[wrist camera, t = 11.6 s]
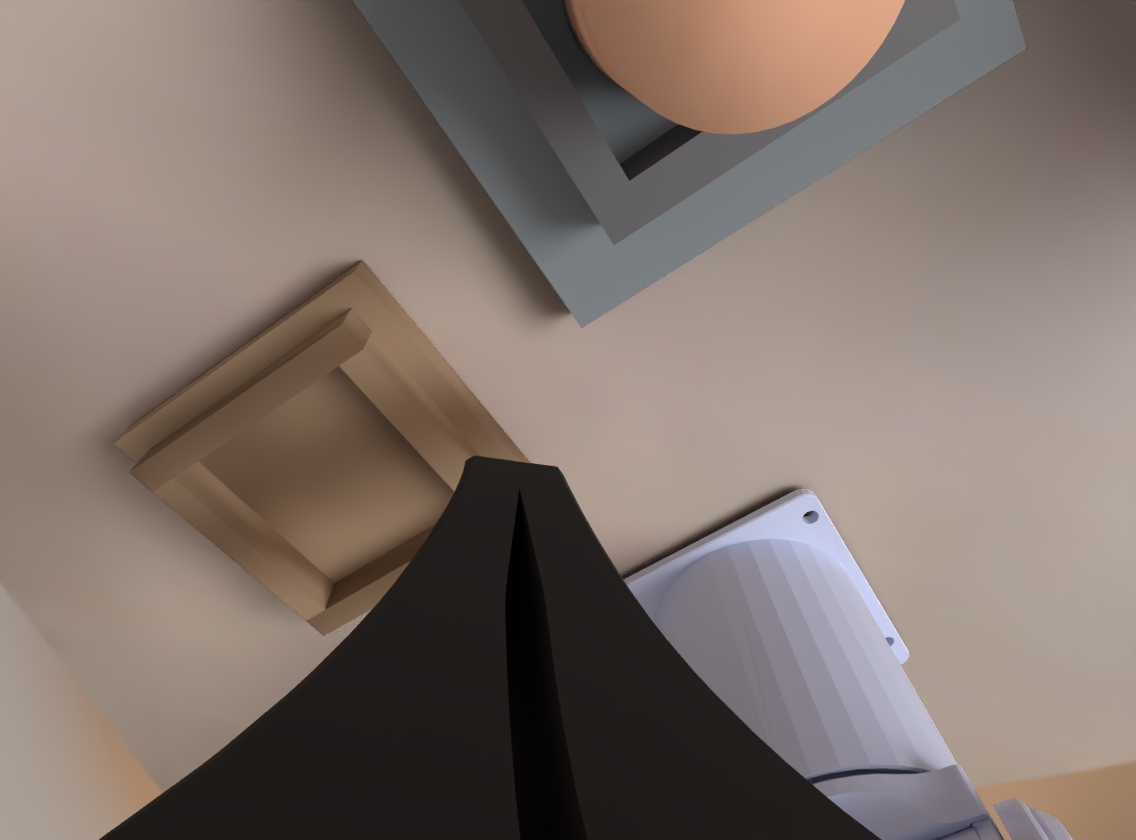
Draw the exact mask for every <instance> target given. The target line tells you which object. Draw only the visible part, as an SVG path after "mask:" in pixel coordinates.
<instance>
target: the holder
mask: <svg viewBox="0 0 1136 840" xmlns="http://www.w3.org/2000/svg"><path fill="white" fill-rule="evenodd" d="M114 445H115V446H116V447H117V448H118V449H120V450H121V451H122V452H123V453H124V454H125V455H127V456H128V457H129V458H130V459H131V460H132V461H134V462H135V463H136V465H135V467H134V468H133V469H132V470H131V471H130V472H129V473H131V474H132V475H133V476H134V477H135V478H137V479H138V480H139V481H140V482H141V483H142V484H144V485H145V486H146V487H147V488H148V489H150V490H151V491H152V492H153V493H154V494H156V495H157V496H158V497H159V498H160V499H162V500H163V501H164V502H165V503H166V504H167V505H169V506H170V507H171V508H172V509H173V510H175V511H176V512H177V513H178V514H179V515H181V516H182V517H183V518H184V519H185V520H187V521H188V522H189V523H190V524H191V525H192V526H194V527H195V528H196V529H197V530H198V531H200V532H201V533H202V534H203V535H204V536H206V537H207V538H208V539H209V540H210V541H211V542H213V543H214V544H215V545H216V546H217V547H219V548H220V549H221V550H222V551H223V552H225V553H226V554H227V555H228V556H229V557H231V558H232V559H233V560H234V561H235V562H236V563H238V564H239V565H240V566H241V567H242V568H244V569H245V570H246V571H247V572H248V573H250V574H251V575H252V576H253V577H254V578H256V579H257V580H258V581H259V582H260V583H261V584H263V585H264V586H265V587H266V588H267V589H269V590H270V591H271V592H272V593H273V594H275V595H276V596H277V597H278V598H279V599H281V600H282V601H283V602H284V603H285V604H286V605H288V606H289V607H290V608H291V609H292V610H294V611H295V612H296V613H297V614H298V615H300V616H301V617H302V618H303V619H304V620H305V621H307V622H308V623H309V624H310V625H311V626H313V627H314V628H315V629H316V630H317V631H319V632H320V633H321V634H322V635H323V636H324V635H326V634H328V633H330V632H332V631H333V630H335V629H337V628H339V627H340V626H342V625H344V624H346V623H347V622H349V621H351V620H353V619H355V618H356V617H358V616H360V615H362V614H363V613H365V612H367V611H369V610H371V609H372V608H374V607H375V606H376V604H377V603H378V602H379V601H380V600H381V599H382V597H383V596H384V595H385V594H386V593H387V591H388V590H389V589H390V588H391V586H392V585H393V584H394V583H395V581H396V580H397V579H398V577H399V576H400V575H401V573H402V572H403V571H404V569H405V568H406V567H407V565H408V564H409V563H410V561H411V560H412V559H413V557H414V556H415V555H416V553H417V552H418V551H419V549H420V548H421V547H422V545H423V544H424V542H425V541H426V539H427V538H428V536H429V534H430V533H431V531H432V530H433V528H434V526H435V525H436V523H437V522H438V520H439V518H440V517H441V515H442V514H443V512H444V510H445V509H446V507H447V505H448V503H449V501H450V499H451V497H452V496H453V494H454V492H455V490H456V487H457V485H458V483H459V481H460V478H461V475H462V473H463V470H464V465H465V461H466V460H467V459H469V458H471V457H472V456H474V455H476V456H483V457H490V458H497V459H504V460H512V461H519V462H526V463H530V462H529V461H528V459H527V458H526V457H525V456H524V455H523V453H522V452H521V451H520V450H519V449H518V447H517V446H516V445H515V444H514V443H513V441H512V440H511V439H510V438H509V437H508V435H507V434H506V433H505V432H504V430H503V429H502V428H501V427H500V426H499V424H498V423H497V422H496V421H495V420H494V418H493V417H492V416H491V415H490V414H489V412H488V411H487V410H486V409H485V408H484V406H483V405H482V404H481V403H480V402H479V400H478V399H477V398H476V397H475V395H474V394H473V393H472V392H471V391H470V389H469V388H468V387H467V386H466V385H465V383H464V382H463V381H462V380H461V379H460V377H459V376H458V375H457V374H456V373H455V371H454V370H453V369H452V368H451V366H450V365H449V364H448V363H447V362H446V360H445V359H444V358H443V357H442V356H441V354H440V353H439V352H438V351H437V350H436V348H435V347H434V346H433V345H432V344H431V342H430V341H429V340H428V339H427V337H426V336H425V335H424V334H423V333H422V331H421V330H420V329H419V328H418V327H417V325H416V324H415V323H414V322H413V321H412V319H411V318H410V317H409V316H408V315H407V313H406V312H405V311H404V310H403V309H402V307H401V306H400V305H399V304H398V302H397V301H396V300H395V299H394V298H393V296H392V295H391V294H390V293H389V292H388V290H387V289H386V288H385V287H384V286H383V284H382V283H381V282H380V281H379V280H378V278H377V277H376V276H375V275H374V273H373V272H372V271H371V270H370V269H369V267H368V266H367V265H366V264H365V263H364V261H363V260H362V261H360V262H359V263H357V264H356V265H355V266H353V267H352V268H351V269H349V270H348V271H346V272H345V273H344V274H342V275H341V276H339V277H338V278H337V279H335V280H334V281H332V282H331V283H330V284H328V285H327V286H325V287H324V288H323V289H321V290H320V291H318V292H317V293H316V294H314V295H313V296H312V297H310V298H309V299H307V300H306V301H305V302H303V303H302V304H300V305H299V306H298V307H296V308H295V309H293V310H292V311H291V312H289V313H288V314H286V315H285V316H284V317H282V318H281V319H279V320H278V321H277V322H275V323H274V324H273V325H271V326H270V327H268V328H267V329H266V330H264V331H263V332H261V333H260V334H259V335H257V336H256V337H254V338H253V339H252V340H250V341H249V342H247V343H246V344H245V345H243V346H242V347H240V348H239V349H238V350H236V351H235V352H234V353H232V354H231V355H229V356H228V357H227V358H225V359H224V360H222V361H221V362H220V363H218V364H217V365H215V366H214V367H213V368H211V369H210V370H208V371H207V372H206V373H204V374H203V375H201V376H200V377H199V378H197V379H196V380H195V381H193V382H192V383H190V384H189V385H188V386H186V387H185V388H183V389H182V390H181V391H179V392H178V393H176V394H175V395H174V396H172V397H171V398H169V399H168V400H167V401H165V402H164V403H162V404H161V405H160V406H158V407H157V408H155V409H154V410H153V411H151V412H150V413H149V414H147V415H146V416H144V417H143V418H142V419H140V420H139V421H137V422H136V423H135V424H133V425H132V426H130V427H129V428H128V429H127V430H126V431H125V432H124V434H123V435H122V436H121V437H120V438H119V439H118V440H117V441H116V442H115V443H114Z"/></svg>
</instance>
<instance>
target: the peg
mask: <svg viewBox="0 0 1136 840" xmlns="http://www.w3.org/2000/svg"><path fill="white" fill-rule="evenodd" d="M904 2H905V0H562V5H563V10H564V14H565V17H566V20H567V23H568V26H569V28H570V30H571V33H572V35H573V37H574V39H575V41H576V42H577V44H578V46H579V47H580V49H581V50H582V52H583V53H584V54H585V55H586V57H587V58H588V59H589V60H590V62H591V63H593V64H594V65H595V66H596V67H597V68H598V69H599V70H600V71H601V72H603V73H604V74H605V75H607V76H608V77H609V78H611V79H612V80H613V81H615V82H616V83H617V84H619V85H620V86H621V87H623V88H624V89H625V90H627V91H628V92H629V93H631V94H632V95H633V96H635V97H636V98H637V99H639V100H640V101H641V102H643V103H644V104H645V105H647V106H648V107H649V108H651V109H652V110H654V111H655V112H656V113H658V114H659V115H661V116H663V117H665V118H667V119H669V120H671V121H673V122H675V123H677V124H680V125H683V126H686V127H688V128H691V129H694V130H699V131H704V132H709V133H715V134H744V133H754V132H759V131H763V130H767V129H771V128H775V127H778V126H781V125H783V124H786V123H788V122H791V121H794V120H796V119H798V118H800V117H802V116H804V115H805V114H807V113H809V112H811V111H813V110H815V109H816V108H818V107H819V106H821V105H822V104H823V103H825V102H826V101H828V100H829V99H831V98H832V97H833V96H835V95H836V94H837V93H838V92H839V91H840V90H841V89H843V88H844V87H845V86H846V85H847V84H848V83H850V82H851V81H852V79H853V78H854V77H855V76H856V75H857V74H858V73H859V72H860V71H861V70H862V69H863V68H864V67H865V65H866V64H867V63H868V62H869V60H870V59H871V58H872V56H873V55H874V54H875V52H876V51H877V50H878V48H879V47H880V46H881V44H882V43H883V41H884V40H885V38H886V36H887V35H888V33H889V31H890V30H891V28H892V26H893V25H894V23H895V21H896V19H897V17H898V15H899V12H900V10H901V8H902V6H903V4H904Z"/></svg>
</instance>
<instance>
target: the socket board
mask: <svg viewBox="0 0 1136 840" xmlns="http://www.w3.org/2000/svg"><path fill="white" fill-rule="evenodd" d="M352 1H353V2H354V3H355V5H356V6H357V8H358V9H359V11H360V12H361V13H362V15H363V16H364V18H365V19H366V21H367V22H368V23H369V25H370V26H371V28H372V29H373V31H374V32H375V33H376V35H377V36H378V38H379V39H380V41H381V42H382V43H383V45H384V46H385V48H386V49H387V51H388V52H389V53H390V55H391V56H392V58H393V59H394V61H395V62H396V63H397V65H398V66H399V68H400V69H401V71H402V72H403V73H404V75H405V76H406V78H407V79H408V81H409V82H410V83H411V85H412V86H413V88H414V89H415V91H416V92H417V93H418V95H419V96H420V98H421V99H422V101H423V102H424V103H425V105H426V106H427V108H428V109H429V111H430V112H431V113H432V115H433V116H434V118H435V119H436V121H437V122H438V123H439V125H440V126H441V128H442V129H443V131H444V132H445V133H446V135H447V136H448V138H449V139H450V141H451V142H452V143H453V145H454V146H455V148H456V149H457V151H458V152H459V153H460V155H461V156H462V158H463V159H464V161H465V162H466V163H467V165H468V166H469V168H470V169H471V171H472V172H473V173H474V175H475V176H476V178H477V179H478V181H479V182H480V183H481V185H482V186H483V188H484V189H485V191H486V192H487V193H488V195H489V196H490V198H491V199H492V201H493V202H494V203H495V205H496V206H497V208H498V209H499V211H500V212H501V213H502V215H503V216H504V218H505V219H506V221H507V222H508V223H509V225H510V226H511V228H512V229H513V231H514V232H515V233H516V235H517V236H518V238H519V239H520V241H521V242H522V243H523V245H524V246H525V248H526V249H527V251H528V252H529V253H530V255H531V256H532V258H533V259H534V261H535V262H536V263H537V265H538V266H539V268H540V269H541V271H542V272H543V273H544V275H545V276H546V278H547V279H548V281H549V282H550V283H551V285H552V286H553V288H554V289H555V291H556V292H557V293H558V295H559V296H560V298H561V299H562V301H563V302H564V303H565V305H566V306H567V308H568V309H569V311H570V312H571V313H572V315H573V316H574V318H575V319H576V321H577V322H578V323H579V325H580V326H581V328H583V327H584V326H586V325H587V324H589V323H591V322H592V321H594V320H595V319H597V318H599V317H600V316H602V315H603V314H605V313H606V312H608V311H610V310H611V309H613V308H614V307H616V306H618V305H619V304H621V303H622V302H624V301H626V300H627V299H629V298H630V297H632V296H634V295H635V294H637V293H638V292H640V291H641V290H643V289H645V288H646V287H648V286H649V285H651V284H653V283H654V282H656V281H657V280H659V279H661V278H662V277H664V276H665V275H667V274H669V273H670V272H672V271H673V270H675V269H677V268H678V267H680V266H681V265H683V264H684V263H686V262H688V261H689V260H691V259H692V258H694V257H696V256H697V255H699V254H700V253H702V252H704V251H705V250H707V249H708V248H710V247H712V246H713V245H715V244H716V243H718V242H719V241H721V240H723V239H724V238H726V237H727V236H729V235H731V234H732V233H734V232H735V231H737V230H739V229H740V228H742V227H743V226H745V225H747V224H748V223H750V222H751V221H753V220H755V219H756V218H758V217H759V216H761V215H762V214H764V213H766V212H767V211H769V210H770V209H772V208H774V207H775V206H777V205H778V204H780V203H782V202H783V201H785V200H786V199H788V198H790V197H791V196H793V195H794V194H796V193H797V192H799V191H801V190H802V189H804V188H805V187H807V186H809V185H810V184H812V183H813V182H815V181H817V180H818V179H820V178H821V177H823V176H825V175H826V174H828V173H829V172H831V171H833V170H834V169H836V168H837V167H839V166H840V165H842V164H844V163H845V162H847V161H848V160H850V159H852V158H853V157H855V156H856V155H858V154H860V153H861V152H863V151H864V150H866V149H868V148H869V147H871V146H872V145H874V144H875V143H877V142H879V141H880V140H882V139H883V138H885V137H887V136H888V135H890V134H891V133H893V132H895V131H896V130H898V129H899V128H901V127H903V126H904V125H906V124H907V123H909V122H911V121H912V120H914V119H915V118H917V117H918V116H920V115H922V114H923V113H925V112H926V111H928V110H930V109H931V108H933V107H934V106H936V105H938V104H939V103H941V102H942V101H944V100H946V99H947V98H949V97H950V96H952V95H953V94H955V93H957V92H958V91H960V90H961V89H963V88H965V87H966V86H968V85H969V84H971V83H973V82H974V81H976V80H977V79H979V78H981V77H982V76H984V75H985V74H987V73H988V72H990V71H992V70H993V69H995V68H996V67H998V66H1000V65H1001V64H1003V63H1004V62H1006V61H1008V60H1009V59H1011V58H1012V57H1014V56H1016V55H1017V54H1019V53H1020V52H1022V51H1024V50H1025V49H1027V48H1026V45H1025V41H1024V38H1023V34H1022V31H1021V27H1020V24H1019V20H1018V17H1017V13H1016V10H1015V6H1014V3H1013V0H905V2H904V4H903V6H902V8H901V10H900V12H899V15H898V17H897V19H896V21H895V23H894V25H893V26H892V28H891V30H890V31H889V33H888V35H887V36H886V38H885V40H884V41H883V43H882V44H881V46H880V47H879V48H878V50H877V51H876V52H875V54H874V55H873V56H872V58H871V59H870V60H869V62H868V63H867V64H866V65H865V67H864V68H863V69H862V70H861V71H860V72H859V73H858V74H857V75H856V76H855V77H854V78H853V79H852V81H851V82H850V83H848V84H847V85H846V86H845V87H844V88H843V89H841V90H840V91H839V92H838V93H837V94H836V95H835V96H833V97H832V98H831V99H829V100H828V101H826V102H825V103H823V104H822V105H821V106H819V107H818V108H816V109H815V110H813V111H811V112H809V113H807V114H805V115H804V116H802V117H800V118H798V119H796V120H794V121H791V122H788V123H786V124H783V125H781V126H778V127H775V128H771V129H767V130H763V131H759V132H754V133H744V134H715V133H709V132H704V131H699V130H694V129H691V128H688V127H686V126H683V125H680V124H677V123H675V122H673V121H671V120H669V119H667V118H665V117H663V116H661V115H659V114H658V113H656V112H655V111H654V110H652V109H651V108H649V107H648V106H647V105H645V104H644V103H643V102H641V101H640V100H639V99H637V98H636V97H635V96H633V95H632V94H631V93H629V92H628V91H627V90H625V89H624V88H623V87H621V86H620V85H619V84H617V83H616V82H615V81H613V80H612V79H611V78H609V77H608V76H607V75H605V74H604V73H603V72H601V71H600V70H599V69H598V68H597V67H596V66H595V65H594V64H593V63H591V62H590V60H589V59H588V58H587V57H586V55H585V54H584V53H583V52H582V50H581V49H580V47H579V46H578V44H577V42H576V41H575V39H574V37H573V35H572V33H571V30H570V28H569V26H568V23H567V20H566V17H565V14H564V10H563V5H562V0H352Z"/></svg>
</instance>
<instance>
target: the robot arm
mask: <svg viewBox="0 0 1136 840" xmlns="http://www.w3.org/2000/svg"><path fill="white" fill-rule="evenodd" d="M809 511H814V512H813V513H812V514H811V515H810V516H806V517H805V516H804V514H805V513H807V512H809ZM908 657H909V651H908V649H907V648H906V646H905V644H904V643H903V641H902V639H901V638H900V636H899V634H898V633H897V631H896V629H895V627H894V626H893V624H892V622H891V621H890V619H889V617H888V616H887V614H886V612H885V611H884V609H883V607H882V606H881V604H880V602H879V601H878V599H877V597H876V595H875V594H874V592H873V590H872V589H871V587H870V585H869V584H868V582H867V580H866V579H865V577H864V575H863V574H862V572H861V570H860V569H859V567H858V565H857V564H856V562H855V560H854V558H853V557H852V555H851V553H850V552H849V550H848V548H847V547H846V545H845V543H844V542H843V540H842V538H841V537H840V535H839V533H838V532H837V530H836V528H835V526H834V525H833V523H832V521H831V520H830V518H829V516H828V515H827V513H826V511H825V510H824V508H823V506H822V505H821V503H820V501H819V500H818V498H817V496H816V495H815V493H814V492H813V491H812V490H809V489H807V488H805V489H798V490H795V491H793V492H791V493H789V494H787V495H785V496H783V497H781V498H779V499H778V500H776V501H774V502H772V503H770V504H768V505H766V506H764V507H762V508H760V509H758V510H756V511H754V512H752V513H751V514H749V515H747V516H745V517H743V518H741V519H739V520H737V521H735V522H733V523H731V524H729V525H727V526H726V527H724V528H722V529H720V530H718V531H716V532H714V533H712V534H710V535H708V536H706V537H704V538H702V539H701V540H699V541H697V542H695V543H693V544H691V545H689V546H687V547H685V548H683V549H681V550H679V551H677V552H676V553H674V554H672V555H670V556H668V557H666V558H664V559H662V560H660V561H658V562H656V563H654V564H652V565H651V566H649V567H647V568H645V569H643V570H641V571H639V572H637V573H635V574H633V575H631V576H629V577H627V578H625V579H624V580H623V578H622V577H621V575H620V574H619V572H618V571H617V569H616V568H615V566H614V565H613V563H612V561H611V560H610V558H609V557H608V555H607V553H606V552H605V550H604V549H603V547H602V545H601V544H600V542H599V540H598V539H597V537H596V535H595V534H594V532H593V530H592V528H591V527H590V525H589V523H588V521H587V520H586V518H585V516H584V514H583V512H582V511H581V509H580V507H579V505H578V503H577V501H576V499H575V497H574V495H573V493H572V491H571V489H570V487H569V485H568V483H567V481H566V479H565V477H564V475H563V474H562V472H561V471H560V470H559V468H558V467H555V466H548V465H540V464H533V463H526V462H519V461H512V460H504V459H497V458H490V457H483V456H476V455H474V456H472V457H471V458H469V459H467V460H466V461H465V465H464V470H463V473H462V475H461V478H460V481H459V483H458V485H457V487H456V490H455V492H454V494H453V496H452V497H451V499H450V501H449V503H448V505H447V507H446V509H445V510H444V512H443V514H442V515H441V517H440V518H439V520H438V522H437V523H436V525H435V526H434V528H433V530H432V531H431V533H430V534H429V536H428V538H427V539H426V541H425V542H424V544H423V545H422V547H421V548H420V549H419V551H418V552H417V553H416V555H415V556H414V557H413V559H412V560H411V561H410V563H409V564H408V565H407V567H406V568H405V569H404V571H403V572H402V573H401V575H400V576H399V577H398V579H397V580H396V581H395V583H394V584H393V585H392V586H391V588H390V589H389V590H388V591H387V593H386V594H385V595H384V596H383V597H382V599H381V600H380V601H379V602H378V603H377V604H376V606H375V607H374V608H373V609H372V610H371V611H370V612H369V614H368V615H367V616H366V617H365V618H364V619H363V620H362V621H361V622H360V623H359V625H358V626H357V627H356V628H355V629H354V630H353V631H352V632H351V633H350V634H349V635H348V636H347V637H346V638H345V639H344V640H343V641H342V642H341V643H340V644H339V645H338V646H337V647H336V648H335V649H334V650H333V651H332V652H331V653H330V654H329V655H328V656H327V657H326V658H325V659H324V660H323V661H322V662H321V663H320V664H319V665H318V666H317V667H316V668H315V669H314V670H313V671H312V672H311V673H310V674H309V675H308V676H307V677H306V678H305V679H304V680H303V681H301V682H300V683H299V684H298V685H297V686H296V687H295V688H294V689H293V690H292V691H290V692H289V693H288V694H287V695H286V696H285V697H284V698H282V699H281V700H280V701H279V702H278V703H276V704H275V705H274V706H273V707H272V708H271V709H269V710H268V711H267V712H266V713H265V714H263V715H262V716H261V717H260V718H259V719H257V720H256V721H255V722H254V723H253V724H251V725H250V726H249V727H248V728H247V729H245V730H244V731H243V732H242V733H241V734H239V735H238V736H237V737H236V738H235V739H234V740H232V741H231V742H230V743H229V744H228V745H226V746H225V747H224V748H223V749H221V750H220V751H219V752H218V753H216V754H215V755H214V756H213V757H211V758H210V759H209V760H207V761H206V762H205V763H204V764H202V765H201V766H200V767H198V768H197V769H195V770H194V771H193V772H191V773H190V774H189V775H187V776H186V777H184V778H183V779H182V780H180V781H179V782H178V783H176V784H175V785H173V786H172V787H171V788H169V789H168V790H167V791H165V792H164V793H162V794H161V795H160V796H158V797H157V798H156V799H154V800H153V801H151V802H150V803H149V804H147V805H146V806H145V807H143V808H142V809H140V810H139V811H138V812H136V813H135V814H133V815H132V816H131V817H129V818H128V819H127V820H125V821H124V822H122V823H121V824H120V825H118V826H117V827H116V828H114V829H113V830H111V831H110V832H108V833H107V834H106V835H104V836H103V837H102V838H100V839H99V840H1005V838H1004V836H1003V835H1002V833H1001V832H1000V830H999V828H998V827H997V825H996V823H995V822H994V820H993V819H992V817H991V815H990V814H989V812H988V810H987V809H986V807H985V806H984V804H983V802H982V801H981V799H980V797H979V796H978V794H977V792H976V791H975V789H974V787H973V786H972V784H971V783H970V781H969V779H968V778H967V776H966V774H965V773H964V771H963V770H962V768H961V767H960V766H959V765H957V763H956V761H955V759H954V758H953V756H952V754H951V752H950V751H949V749H948V747H947V745H946V744H945V742H944V740H943V738H942V737H941V735H940V733H939V731H938V730H937V728H936V726H935V724H934V723H933V721H932V719H931V717H930V716H929V714H928V712H927V710H926V709H925V707H924V705H923V703H922V702H921V700H920V698H919V696H918V695H917V693H916V691H915V689H914V688H913V686H912V684H911V682H910V681H909V679H908V677H907V675H906V674H905V672H904V670H903V668H902V667H901V664H903V663H904V662H905V661H906V660H907V659H908ZM993 807H994V809H995V811H996V812H997V814H998V816H999V817H1000V819H1001V821H1002V823H1003V824H1004V826H1005V828H1006V830H1007V831H1008V833H1009V835H1010V837H1011V838H1012V840H1073V839H1072V838H1071V837H1070V835H1069V834H1068V833H1067V831H1066V830H1065V828H1064V827H1063V826H1062V825H1061V823H1060V822H1059V821H1058V820H1057V819H1056V818H1054V817H1053V816H1050V815H1048V814H1046V813H1043V812H1041V811H1039V810H1036V809H1034V808H1031V809H1028V808H1027V806H1026V805H1025V804H1024V803H1023V802H1022V801H1021V800H1018V799H1016V798H1012V799H1008V800H1005V801H1002V802H1000V803H997V804H994V805H993Z"/></svg>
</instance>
